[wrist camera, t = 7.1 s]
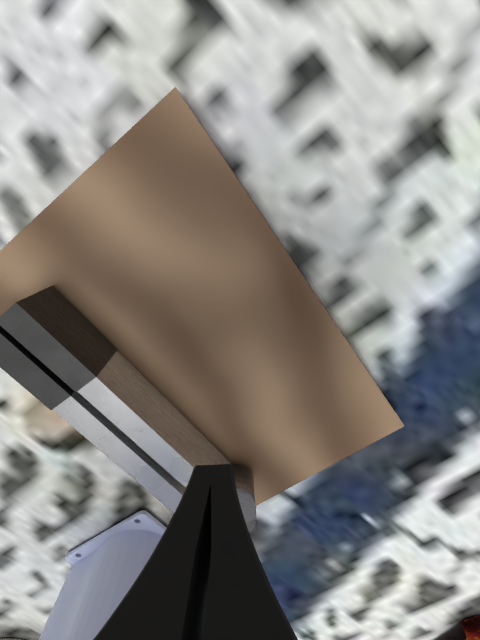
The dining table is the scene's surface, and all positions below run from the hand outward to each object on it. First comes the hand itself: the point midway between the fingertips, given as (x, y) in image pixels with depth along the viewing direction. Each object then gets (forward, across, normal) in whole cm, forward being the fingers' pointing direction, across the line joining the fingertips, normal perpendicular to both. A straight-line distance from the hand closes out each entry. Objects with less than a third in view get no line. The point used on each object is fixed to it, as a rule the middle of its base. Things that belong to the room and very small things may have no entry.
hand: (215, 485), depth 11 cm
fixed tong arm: (+9, +7, +2) cm, 11 cm away
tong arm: (+9, +4, +3) cm, 10 cm away
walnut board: (+10, +2, 0) cm, 11 cm away
